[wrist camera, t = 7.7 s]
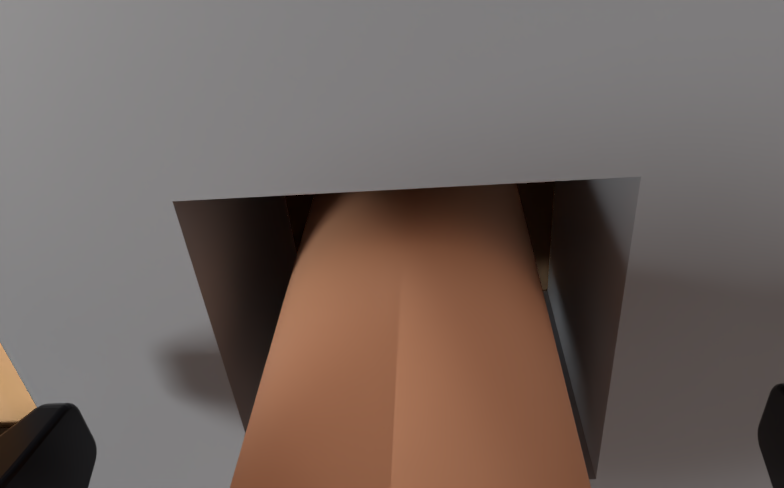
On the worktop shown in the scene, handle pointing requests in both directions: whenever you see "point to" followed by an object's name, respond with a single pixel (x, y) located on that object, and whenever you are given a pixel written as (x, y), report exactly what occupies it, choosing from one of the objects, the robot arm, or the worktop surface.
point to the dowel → (413, 352)
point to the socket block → (392, 172)
